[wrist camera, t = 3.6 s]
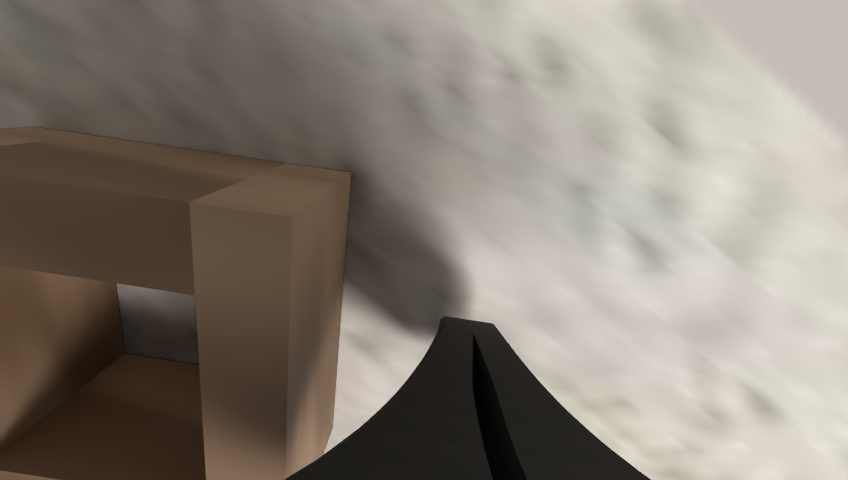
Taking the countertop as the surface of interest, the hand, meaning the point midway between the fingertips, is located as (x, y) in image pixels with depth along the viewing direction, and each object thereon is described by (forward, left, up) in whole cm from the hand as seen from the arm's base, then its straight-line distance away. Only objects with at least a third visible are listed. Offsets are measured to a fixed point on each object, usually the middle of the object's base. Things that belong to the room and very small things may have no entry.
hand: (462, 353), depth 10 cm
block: (0, +7, -1) cm, 7 cm away
